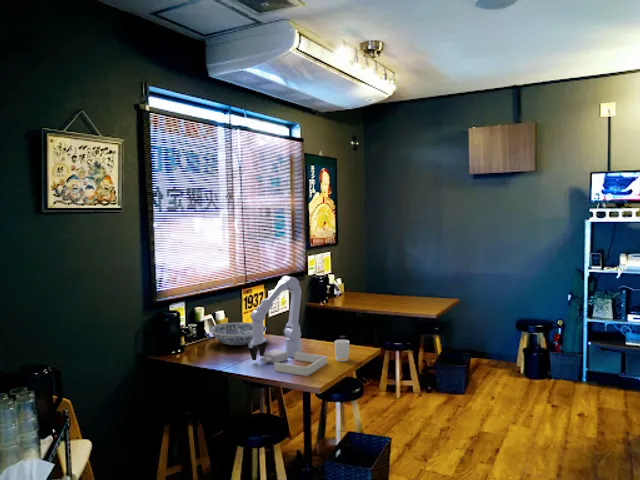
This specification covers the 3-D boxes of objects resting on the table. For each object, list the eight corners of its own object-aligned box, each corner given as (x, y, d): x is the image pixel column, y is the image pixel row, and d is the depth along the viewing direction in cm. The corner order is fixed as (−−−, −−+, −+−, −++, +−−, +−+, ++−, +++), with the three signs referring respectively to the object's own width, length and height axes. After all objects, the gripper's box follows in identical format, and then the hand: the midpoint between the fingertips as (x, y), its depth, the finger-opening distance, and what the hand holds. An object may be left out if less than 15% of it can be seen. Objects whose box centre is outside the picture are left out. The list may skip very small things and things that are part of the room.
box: (295, 359, 261) (295, 352, 261) (326, 363, 254) (326, 356, 253) (274, 370, 242) (274, 363, 241) (307, 376, 234) (307, 367, 234)
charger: (255, 363, 254) (275, 357, 266) (267, 367, 249) (287, 360, 260) (255, 354, 254) (275, 348, 266) (267, 358, 248) (287, 351, 260)
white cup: (348, 357, 265) (348, 339, 264) (349, 361, 257) (349, 343, 256) (334, 357, 264) (334, 339, 264) (335, 362, 257) (335, 343, 256)
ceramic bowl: (262, 351, 277) (262, 334, 276) (202, 351, 277) (202, 334, 277) (269, 337, 311) (269, 321, 311) (216, 336, 312) (216, 321, 311)
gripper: (258, 329, 266) (259, 353, 267) (243, 334, 253) (244, 360, 254) (269, 330, 263) (270, 355, 264) (255, 336, 250) (255, 362, 251)
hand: (258, 358), depth 259 cm, fingers open, 7 cm apart
